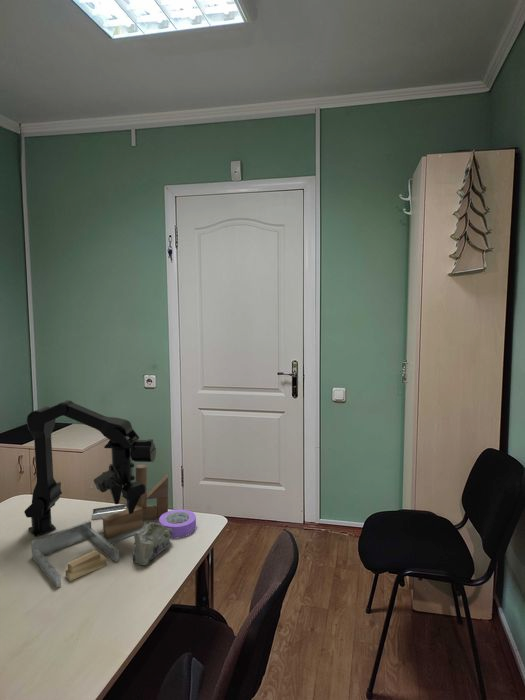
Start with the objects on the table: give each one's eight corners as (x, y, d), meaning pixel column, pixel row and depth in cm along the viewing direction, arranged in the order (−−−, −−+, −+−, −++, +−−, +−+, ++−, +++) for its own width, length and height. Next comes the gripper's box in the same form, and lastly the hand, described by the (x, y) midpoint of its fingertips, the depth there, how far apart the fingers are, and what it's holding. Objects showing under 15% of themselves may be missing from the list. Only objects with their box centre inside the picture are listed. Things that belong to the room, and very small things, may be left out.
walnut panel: (103, 536, 139) (102, 517, 138) (138, 522, 147) (137, 505, 147) (107, 539, 137) (107, 521, 136) (143, 525, 145) (142, 508, 144)
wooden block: (167, 518, 151) (168, 466, 149) (134, 521, 148) (134, 468, 146) (167, 513, 154) (167, 462, 153) (134, 516, 151) (135, 464, 150)
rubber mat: (97, 535, 140) (97, 534, 140) (137, 519, 150) (137, 518, 150) (108, 545, 134) (108, 544, 134) (150, 528, 144) (150, 527, 144)
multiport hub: (93, 515, 154) (92, 508, 154) (136, 508, 159) (136, 502, 158) (92, 521, 150) (92, 514, 150) (137, 514, 155) (136, 507, 154)
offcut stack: (65, 575, 120) (64, 562, 119) (101, 560, 127) (100, 547, 126) (70, 581, 117) (69, 567, 117) (107, 565, 124) (106, 552, 124)
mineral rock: (170, 539, 138) (170, 508, 136) (182, 557, 128) (181, 523, 127) (128, 551, 132) (126, 518, 130) (136, 570, 122) (135, 535, 121)
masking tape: (193, 517, 152) (193, 507, 151) (198, 535, 140) (198, 523, 140) (158, 522, 148) (158, 511, 148) (160, 540, 137) (159, 529, 137)
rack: (32, 557, 128) (31, 541, 128) (90, 535, 140) (89, 520, 139) (57, 587, 115) (55, 569, 114) (119, 560, 127) (118, 543, 126)
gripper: (83, 460, 140) (86, 507, 142) (110, 476, 127) (113, 528, 129) (116, 451, 148) (118, 496, 150) (145, 466, 135) (147, 515, 137)
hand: (123, 508), depth 141 cm, fingers open, 9 cm apart
